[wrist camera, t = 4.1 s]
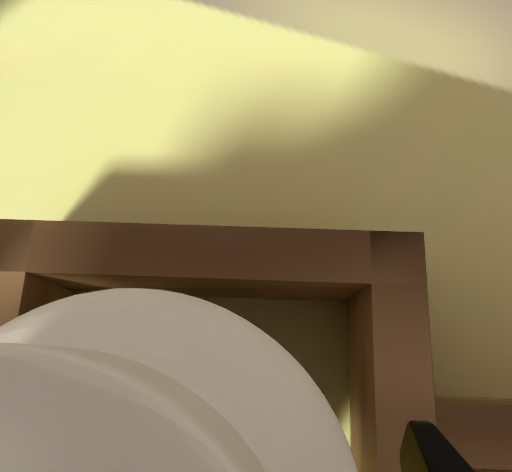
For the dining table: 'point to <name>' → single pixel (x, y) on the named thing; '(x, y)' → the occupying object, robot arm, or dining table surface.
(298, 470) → the supplement bottle
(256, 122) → the dining table surface
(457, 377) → the dining table surface
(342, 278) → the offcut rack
